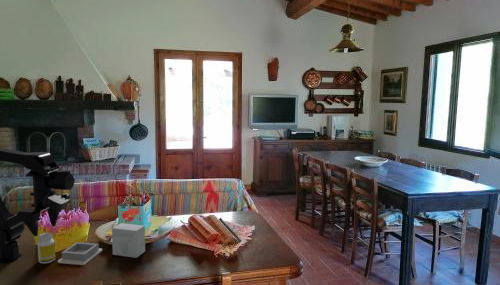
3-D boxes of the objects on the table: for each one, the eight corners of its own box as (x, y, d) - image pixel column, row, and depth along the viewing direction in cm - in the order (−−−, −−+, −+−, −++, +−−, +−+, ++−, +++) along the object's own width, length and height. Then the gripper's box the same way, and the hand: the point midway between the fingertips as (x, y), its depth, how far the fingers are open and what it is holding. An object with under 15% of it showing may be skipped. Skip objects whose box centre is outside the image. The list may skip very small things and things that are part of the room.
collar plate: (58, 262, 129) (57, 254, 128) (78, 248, 141) (77, 240, 140) (84, 265, 128) (83, 256, 127) (102, 250, 139) (101, 242, 139)
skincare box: (145, 251, 140) (145, 225, 138) (136, 258, 134) (136, 231, 132) (122, 247, 142) (121, 222, 141) (112, 254, 136) (111, 228, 135)
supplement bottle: (58, 259, 132) (57, 233, 130) (43, 265, 127) (42, 239, 125) (50, 255, 134) (48, 230, 133) (35, 261, 130) (33, 235, 128)
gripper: (45, 197, 117) (47, 243, 119) (79, 183, 135) (81, 223, 137) (13, 195, 118) (17, 240, 120) (52, 181, 136) (54, 221, 139)
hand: (44, 231), depth 129 cm, fingers open, 9 cm apart
